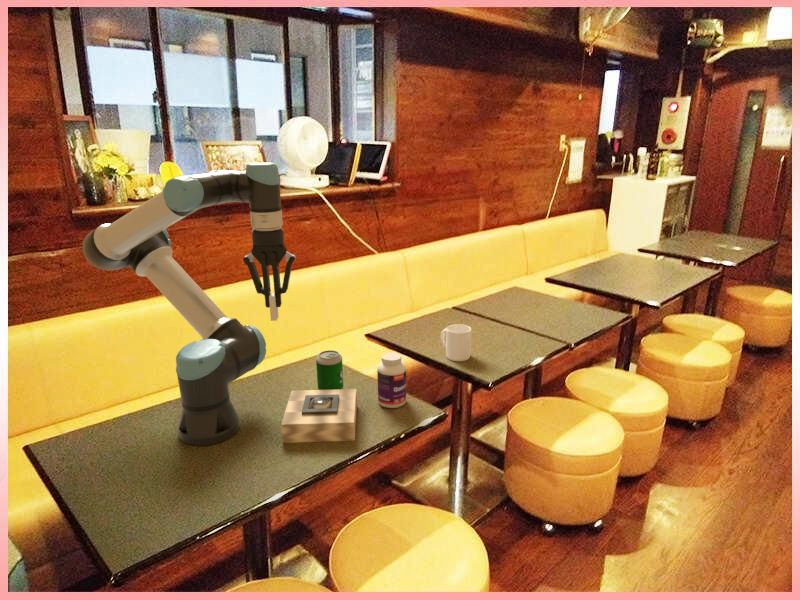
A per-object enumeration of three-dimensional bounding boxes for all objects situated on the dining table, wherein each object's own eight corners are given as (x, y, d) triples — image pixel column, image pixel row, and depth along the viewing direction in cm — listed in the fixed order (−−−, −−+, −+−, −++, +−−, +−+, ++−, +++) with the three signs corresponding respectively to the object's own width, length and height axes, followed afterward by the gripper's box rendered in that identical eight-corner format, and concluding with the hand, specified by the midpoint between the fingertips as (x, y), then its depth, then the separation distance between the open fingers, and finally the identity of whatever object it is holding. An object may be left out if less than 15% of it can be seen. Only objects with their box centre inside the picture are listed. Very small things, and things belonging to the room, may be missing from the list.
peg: (311, 425, 147) (310, 406, 145) (313, 415, 151) (312, 396, 150) (330, 425, 147) (329, 405, 145) (332, 415, 152) (331, 396, 150)
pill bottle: (396, 412, 154) (395, 364, 150) (372, 405, 158) (371, 358, 154) (411, 400, 161) (411, 354, 156) (388, 393, 165) (387, 348, 160)
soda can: (339, 398, 162) (337, 360, 158) (314, 396, 164) (312, 358, 160) (346, 386, 169) (345, 350, 165) (322, 384, 171) (320, 348, 167)
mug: (432, 353, 192) (433, 325, 189) (448, 347, 198) (449, 319, 194) (459, 364, 184) (460, 335, 181) (475, 357, 189) (476, 328, 186)
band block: (282, 442, 140) (281, 421, 139) (292, 407, 158) (291, 388, 156) (354, 440, 141) (353, 419, 139) (356, 405, 158) (356, 386, 156)
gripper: (236, 231, 133) (245, 324, 140) (292, 230, 133) (298, 323, 140) (243, 225, 140) (252, 314, 147) (296, 224, 140) (302, 313, 148)
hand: (274, 318), depth 144 cm, fingers closed
